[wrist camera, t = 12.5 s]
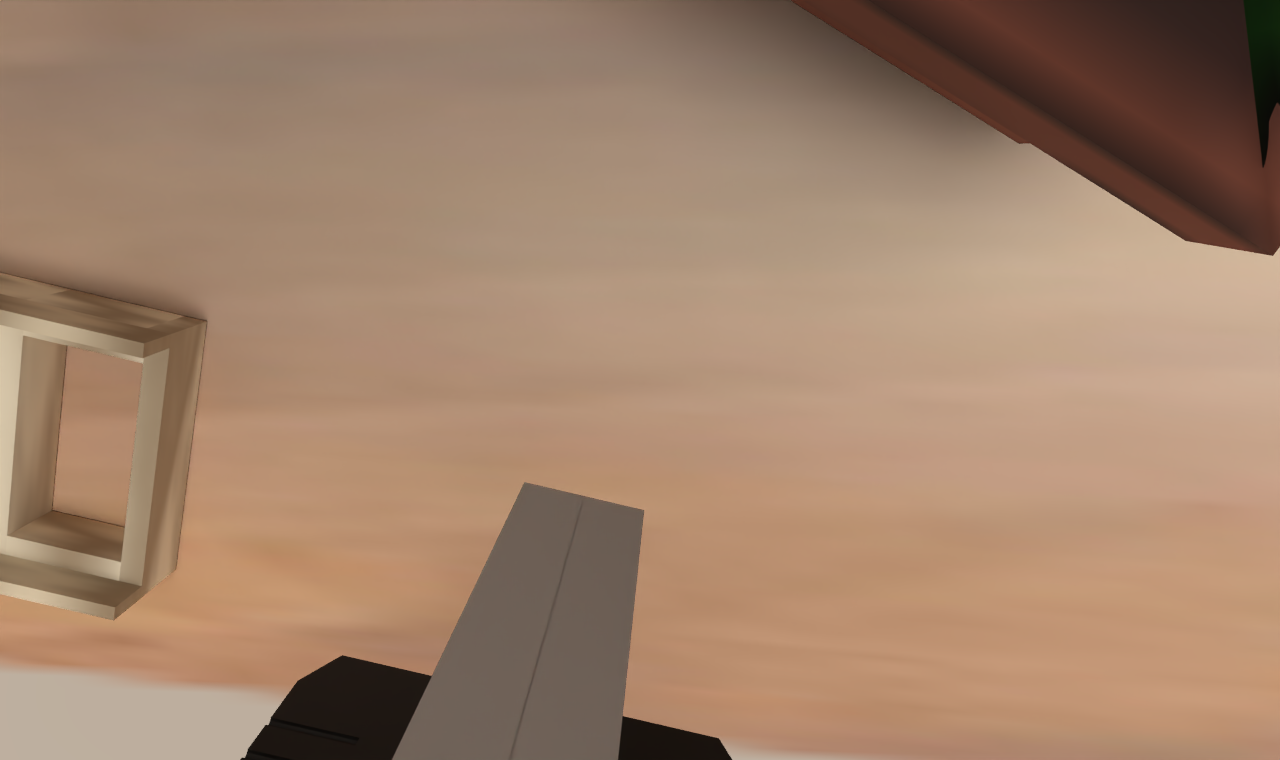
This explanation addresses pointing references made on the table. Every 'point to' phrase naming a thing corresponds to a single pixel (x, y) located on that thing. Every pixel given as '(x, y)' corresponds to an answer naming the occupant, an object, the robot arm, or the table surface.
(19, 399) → the beige open frame
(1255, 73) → the potted plant
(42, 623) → the table surface
